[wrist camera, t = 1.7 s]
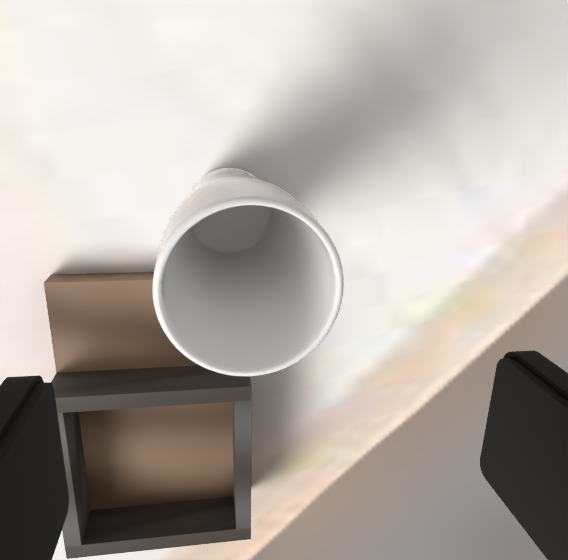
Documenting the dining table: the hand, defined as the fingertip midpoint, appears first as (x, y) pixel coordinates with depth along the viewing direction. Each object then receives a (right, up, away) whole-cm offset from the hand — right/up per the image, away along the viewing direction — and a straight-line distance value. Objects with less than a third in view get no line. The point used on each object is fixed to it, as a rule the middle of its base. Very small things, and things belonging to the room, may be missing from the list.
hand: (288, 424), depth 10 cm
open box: (-9, -5, +24) cm, 26 cm away
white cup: (-4, +7, +21) cm, 22 cm away
